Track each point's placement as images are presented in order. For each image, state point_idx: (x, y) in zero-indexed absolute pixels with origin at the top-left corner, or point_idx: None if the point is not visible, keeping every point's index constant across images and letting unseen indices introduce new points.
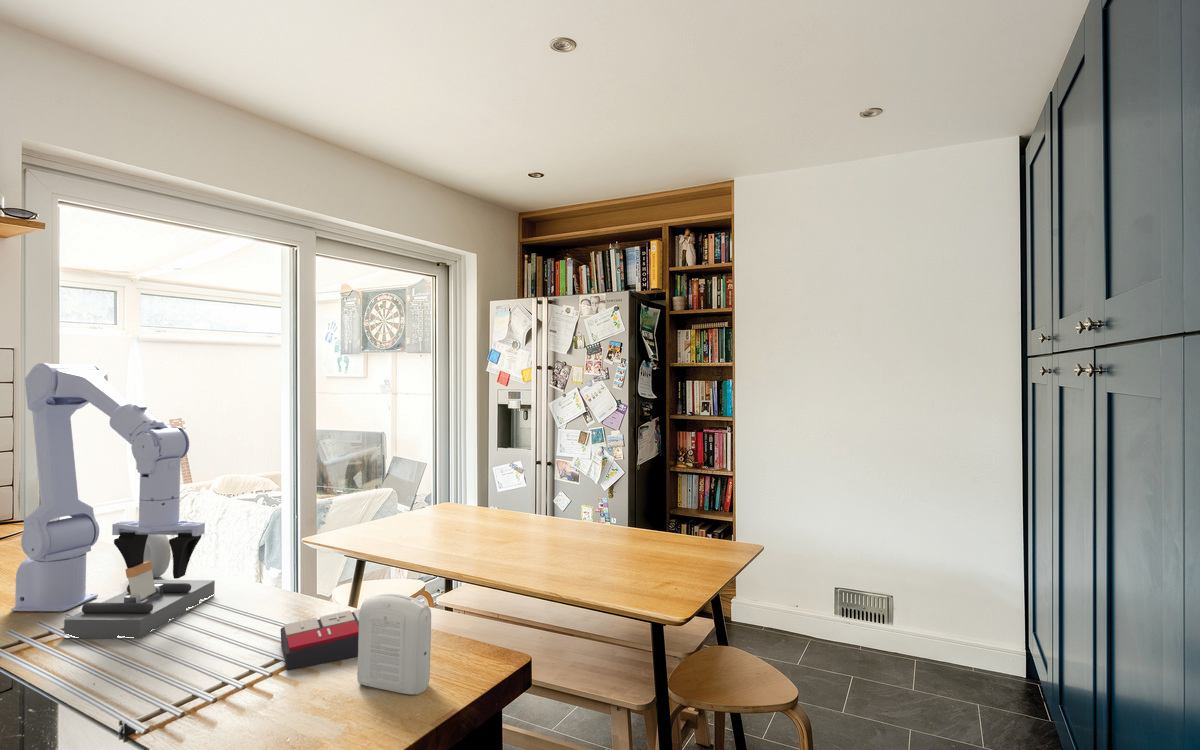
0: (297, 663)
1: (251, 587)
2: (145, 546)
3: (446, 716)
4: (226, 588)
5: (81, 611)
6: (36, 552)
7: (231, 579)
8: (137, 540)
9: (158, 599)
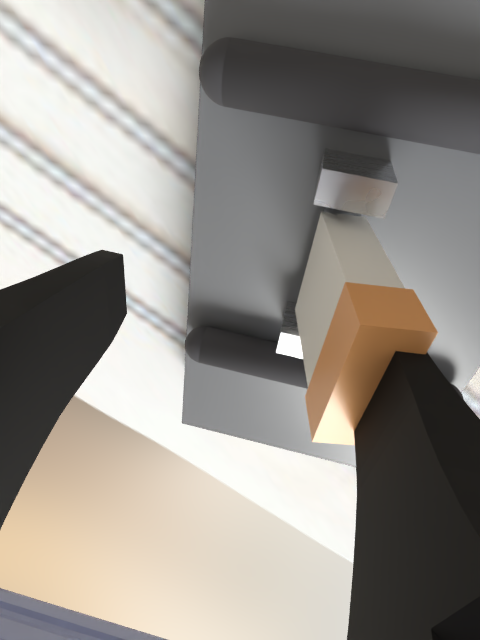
0: None
1: (133, 417)
2: None
3: None
4: (196, 427)
5: None
6: None
7: (219, 477)
8: (396, 612)
9: (278, 275)
